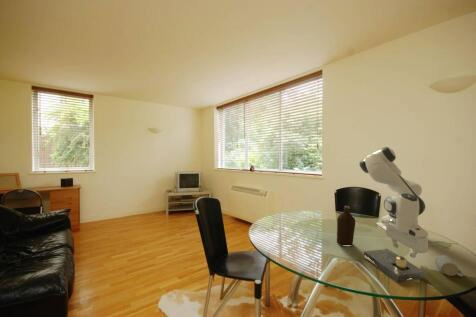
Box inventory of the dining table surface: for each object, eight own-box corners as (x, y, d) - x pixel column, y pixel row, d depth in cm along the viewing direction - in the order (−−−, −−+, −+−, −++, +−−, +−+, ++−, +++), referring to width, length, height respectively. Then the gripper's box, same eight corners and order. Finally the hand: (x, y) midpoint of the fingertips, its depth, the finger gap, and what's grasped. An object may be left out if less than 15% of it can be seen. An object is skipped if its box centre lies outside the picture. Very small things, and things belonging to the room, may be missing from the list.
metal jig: (363, 257, 130) (364, 251, 130) (387, 254, 133) (387, 248, 133) (397, 282, 109) (397, 275, 108) (424, 278, 112) (424, 271, 111)
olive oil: (357, 246, 142) (360, 208, 139) (342, 248, 140) (345, 209, 137) (346, 238, 152) (349, 203, 149) (332, 240, 150) (334, 204, 147)
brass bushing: (392, 270, 118) (394, 256, 117) (399, 269, 119) (401, 255, 118) (400, 275, 114) (401, 260, 113) (407, 274, 115) (409, 260, 113)
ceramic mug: (440, 275, 114) (442, 261, 113) (433, 266, 122) (435, 253, 121) (467, 280, 111) (469, 266, 110) (458, 270, 118) (460, 257, 117)
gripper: (383, 218, 122) (381, 242, 124) (421, 236, 102) (418, 264, 104) (393, 217, 123) (391, 241, 125) (432, 234, 104) (429, 262, 105)
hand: (403, 252), depth 114 cm, fingers open, 8 cm apart
